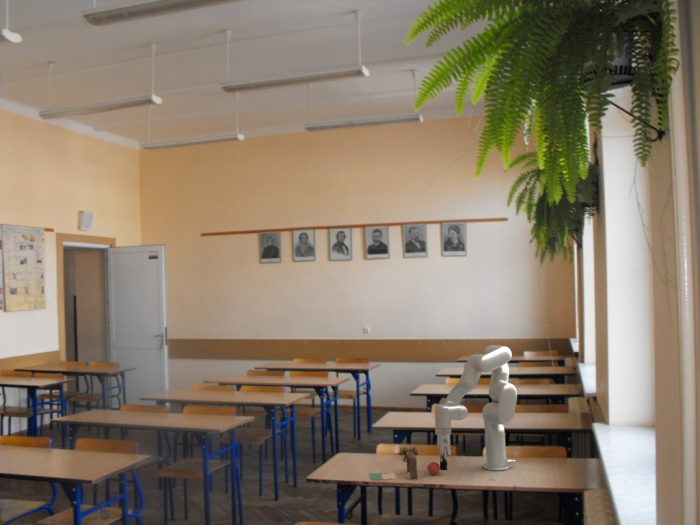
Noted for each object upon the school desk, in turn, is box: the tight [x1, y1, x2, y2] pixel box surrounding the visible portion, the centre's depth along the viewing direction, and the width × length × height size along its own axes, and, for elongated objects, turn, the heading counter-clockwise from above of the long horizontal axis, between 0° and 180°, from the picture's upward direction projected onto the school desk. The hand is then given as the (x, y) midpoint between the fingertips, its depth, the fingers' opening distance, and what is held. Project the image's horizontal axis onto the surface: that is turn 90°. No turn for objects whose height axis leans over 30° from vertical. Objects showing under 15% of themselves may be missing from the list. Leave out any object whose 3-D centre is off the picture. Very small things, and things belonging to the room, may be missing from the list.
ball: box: [427, 461, 441, 476], centre depth 313 cm, size 6×6×6 cm
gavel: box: [399, 445, 420, 462], centre depth 351 cm, size 21×5×10 cm
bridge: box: [405, 451, 418, 481], centre depth 313 cm, size 3×15×10 cm, turn 2°
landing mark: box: [369, 472, 383, 481], centre depth 312 cm, size 12×12×1 cm
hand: (443, 469), depth 313 cm, fingers closed
